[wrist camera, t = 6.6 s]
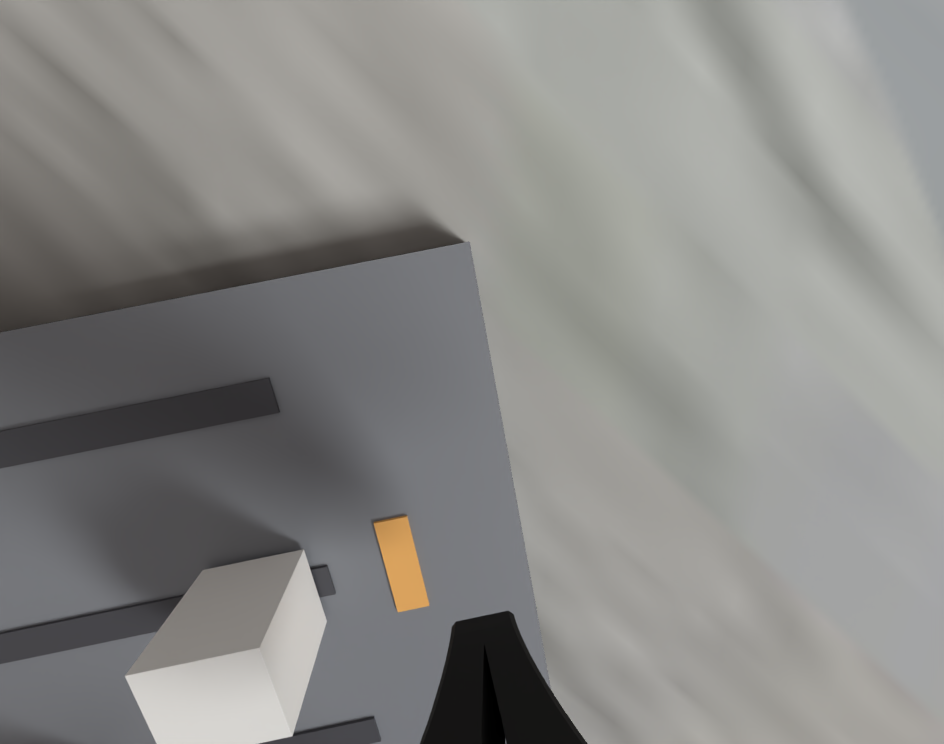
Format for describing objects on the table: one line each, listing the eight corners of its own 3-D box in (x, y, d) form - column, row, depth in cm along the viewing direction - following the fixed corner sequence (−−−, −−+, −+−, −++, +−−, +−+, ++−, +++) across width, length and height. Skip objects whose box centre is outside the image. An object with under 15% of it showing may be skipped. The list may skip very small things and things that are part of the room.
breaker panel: (553, 716, 18) (595, 885, 13) (-70, 850, 18) (-262, 1078, 13) (466, 242, 14) (482, 237, 9) (-374, 405, 13) (-852, 495, 8)
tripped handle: (326, 621, 15) (292, 736, 11) (230, 641, 15) (165, 763, 11) (303, 549, 14) (259, 647, 11) (202, 570, 14) (124, 675, 10)
